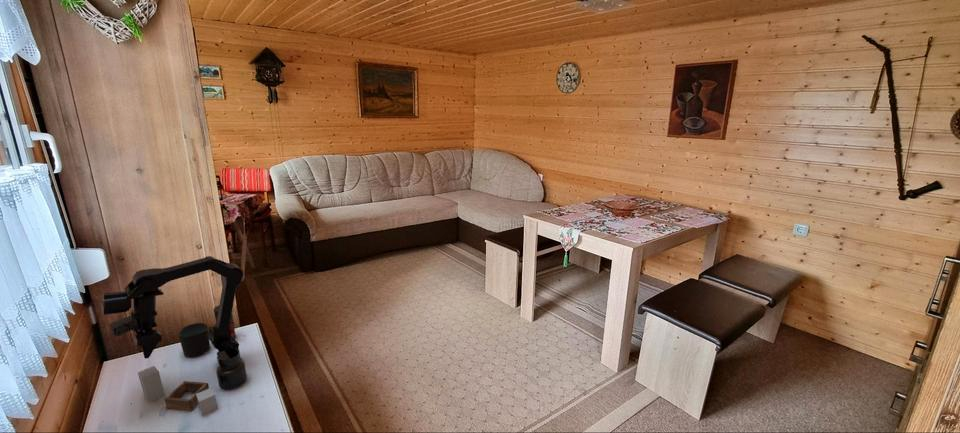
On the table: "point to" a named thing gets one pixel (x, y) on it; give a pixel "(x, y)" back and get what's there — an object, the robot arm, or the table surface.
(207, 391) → the grey block
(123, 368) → the table surface
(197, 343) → the pen holder
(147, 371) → the light grey rectangular block
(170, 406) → the walnut collar
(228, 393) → the table surface
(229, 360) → the ink bottle
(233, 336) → the deodorant
